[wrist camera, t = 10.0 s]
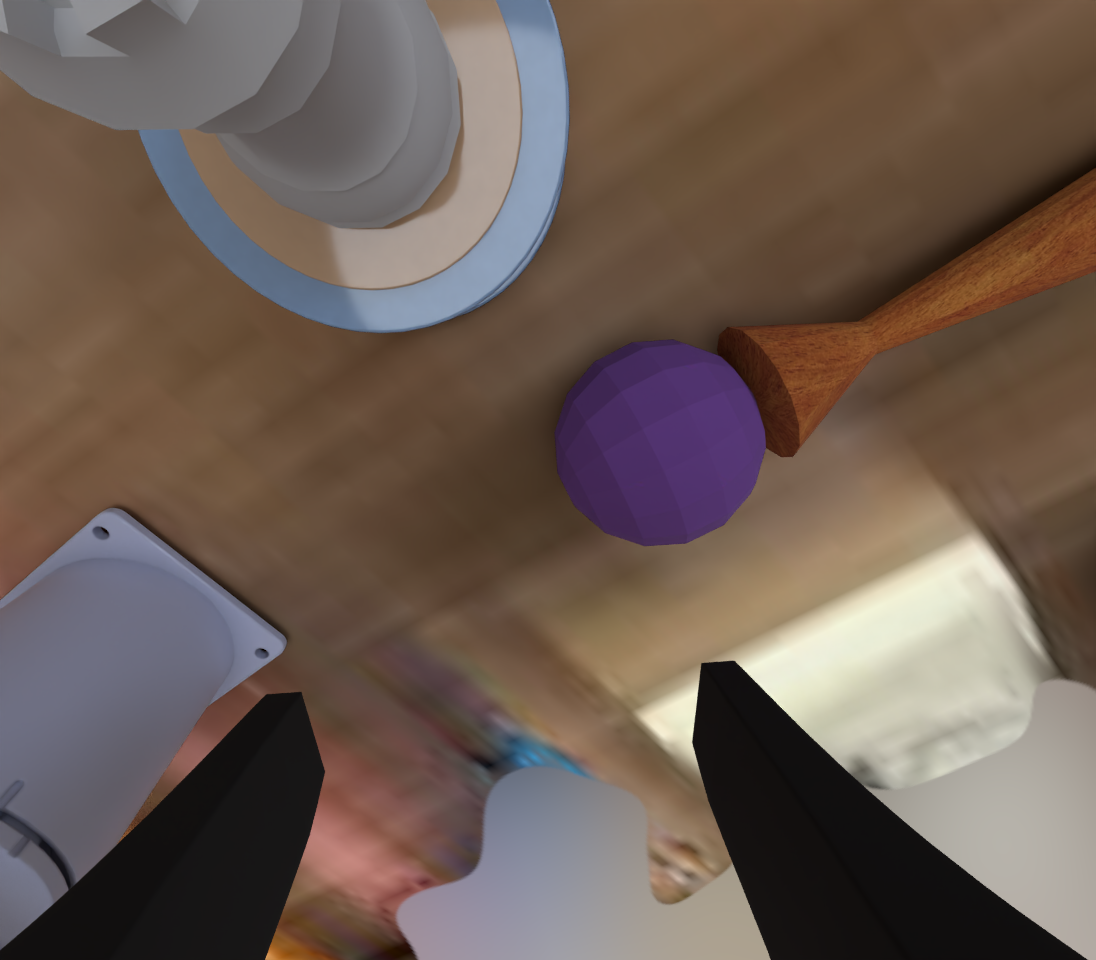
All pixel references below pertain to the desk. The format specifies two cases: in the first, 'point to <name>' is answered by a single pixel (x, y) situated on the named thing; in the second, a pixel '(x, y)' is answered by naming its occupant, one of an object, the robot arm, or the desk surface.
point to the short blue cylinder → (442, 221)
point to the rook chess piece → (261, 89)
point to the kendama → (776, 383)
